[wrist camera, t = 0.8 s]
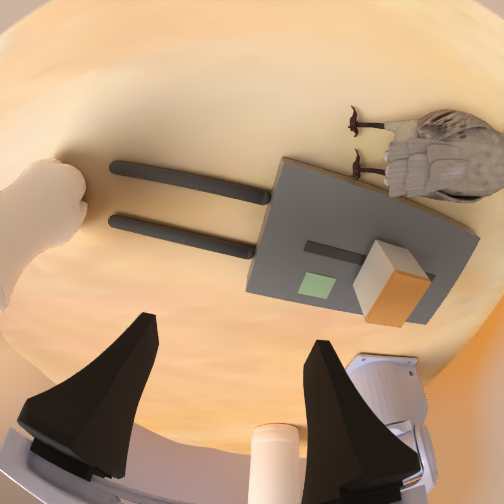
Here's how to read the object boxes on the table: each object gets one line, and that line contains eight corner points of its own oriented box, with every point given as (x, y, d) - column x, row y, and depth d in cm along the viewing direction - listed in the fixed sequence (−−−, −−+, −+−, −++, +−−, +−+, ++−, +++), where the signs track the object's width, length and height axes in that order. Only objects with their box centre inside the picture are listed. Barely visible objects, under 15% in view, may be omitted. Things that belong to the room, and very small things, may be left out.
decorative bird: (503, 179, 16) (560, 218, 9) (339, 183, 18) (379, 237, 12) (506, 119, 13) (571, 144, 7) (333, 102, 16) (379, 107, 9)
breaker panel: (468, 227, 19) (481, 238, 17) (419, 311, 24) (426, 325, 22) (281, 156, 18) (283, 163, 16) (247, 276, 23) (245, 292, 21)
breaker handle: (407, 249, 18) (431, 282, 14) (384, 291, 20) (400, 327, 17) (375, 239, 18) (396, 273, 14) (352, 284, 20) (366, 322, 16)
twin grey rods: (272, 190, 19) (272, 195, 18) (253, 256, 22) (252, 263, 21) (113, 158, 18) (107, 161, 17) (111, 222, 21) (106, 228, 20)
